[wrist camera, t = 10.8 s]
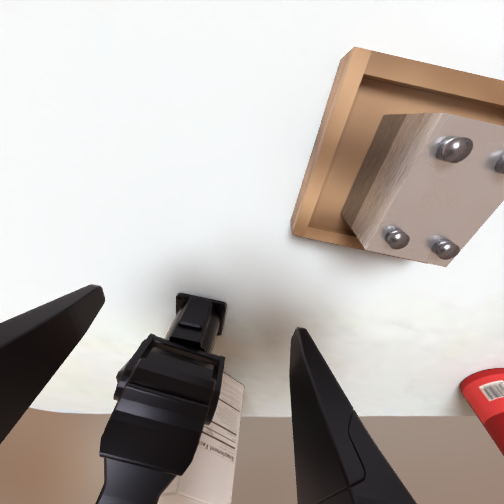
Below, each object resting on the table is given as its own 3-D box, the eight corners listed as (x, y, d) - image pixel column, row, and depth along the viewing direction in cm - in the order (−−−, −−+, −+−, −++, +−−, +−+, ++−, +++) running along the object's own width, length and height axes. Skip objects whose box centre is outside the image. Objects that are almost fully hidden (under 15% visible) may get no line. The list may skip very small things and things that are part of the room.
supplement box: (213, 398, 42) (186, 516, 30) (178, 377, 39) (131, 499, 27) (246, 386, 39) (231, 516, 26) (210, 362, 36) (174, 495, 23)
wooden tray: (409, 246, 21) (427, 263, 18) (290, 220, 21) (292, 234, 18) (512, 98, 14) (562, 94, 12) (340, 59, 14) (354, 46, 12)
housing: (398, 225, 18) (453, 273, 12) (340, 212, 18) (369, 255, 12) (456, 130, 14) (573, 139, 9) (383, 114, 14) (453, 112, 8)
